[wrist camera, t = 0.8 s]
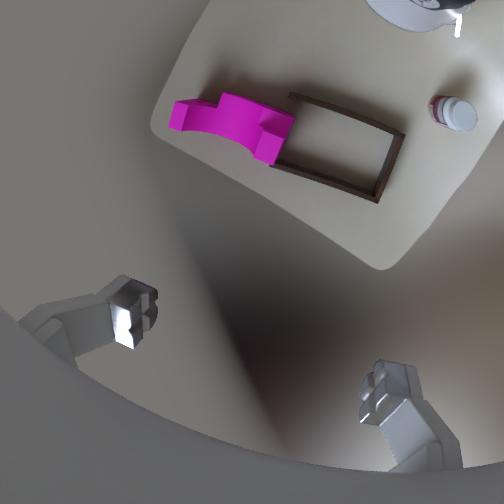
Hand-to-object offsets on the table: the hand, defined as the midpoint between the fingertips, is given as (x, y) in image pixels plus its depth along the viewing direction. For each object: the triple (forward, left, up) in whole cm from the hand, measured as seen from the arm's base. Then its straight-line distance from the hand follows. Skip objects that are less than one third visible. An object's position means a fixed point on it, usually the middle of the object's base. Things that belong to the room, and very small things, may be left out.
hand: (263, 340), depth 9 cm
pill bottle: (-13, +18, -36) cm, 42 cm away
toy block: (-2, -10, -36) cm, 37 cm away
